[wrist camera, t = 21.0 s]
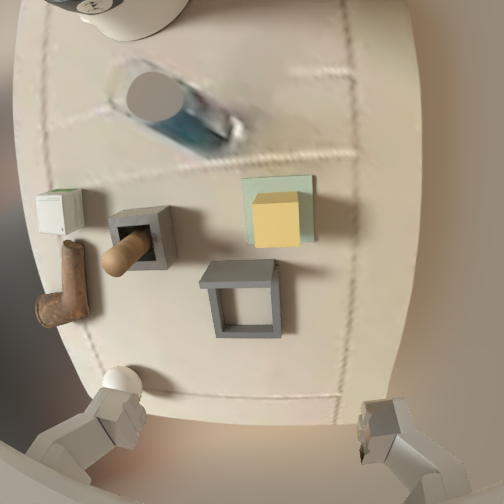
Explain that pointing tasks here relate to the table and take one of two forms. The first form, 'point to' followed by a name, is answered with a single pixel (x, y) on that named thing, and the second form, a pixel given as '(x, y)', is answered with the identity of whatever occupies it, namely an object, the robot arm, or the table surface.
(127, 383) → the white ovoid
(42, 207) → the small box
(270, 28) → the table surface
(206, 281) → the case
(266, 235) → the block
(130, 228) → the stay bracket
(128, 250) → the rod
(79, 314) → the pipe
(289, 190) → the pad
